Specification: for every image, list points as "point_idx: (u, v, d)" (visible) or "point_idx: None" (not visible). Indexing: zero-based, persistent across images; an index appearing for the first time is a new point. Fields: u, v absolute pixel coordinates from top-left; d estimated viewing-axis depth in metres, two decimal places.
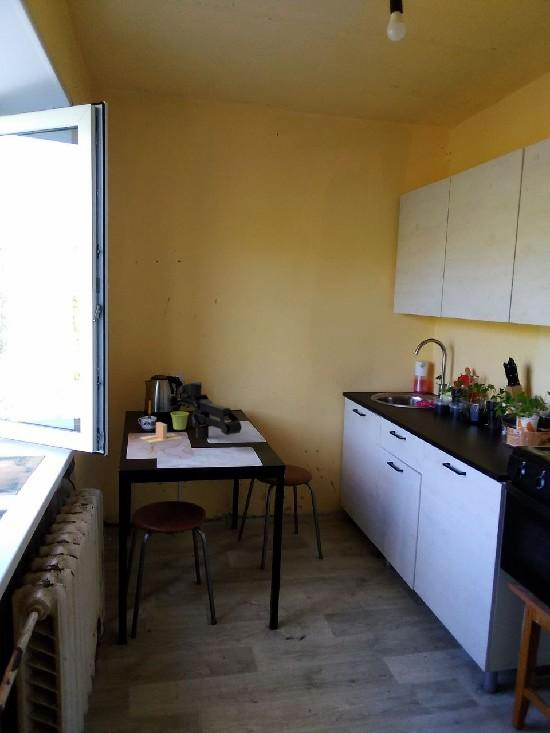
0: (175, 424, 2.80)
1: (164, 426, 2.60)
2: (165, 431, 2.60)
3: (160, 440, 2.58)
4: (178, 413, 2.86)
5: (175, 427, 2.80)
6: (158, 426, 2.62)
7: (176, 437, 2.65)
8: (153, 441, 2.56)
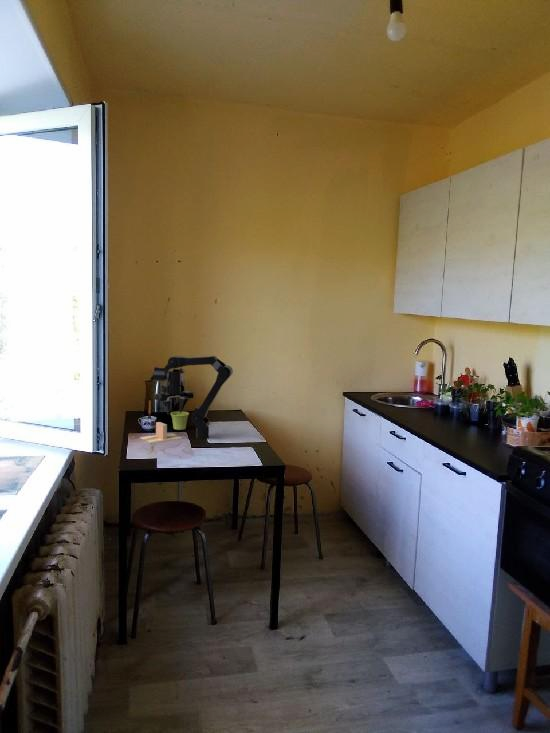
0: (175, 424, 2.80)
1: (164, 426, 2.60)
2: (165, 431, 2.60)
3: (160, 440, 2.58)
4: (178, 413, 2.86)
5: (175, 427, 2.80)
6: (158, 426, 2.62)
7: (176, 437, 2.65)
8: (153, 441, 2.56)
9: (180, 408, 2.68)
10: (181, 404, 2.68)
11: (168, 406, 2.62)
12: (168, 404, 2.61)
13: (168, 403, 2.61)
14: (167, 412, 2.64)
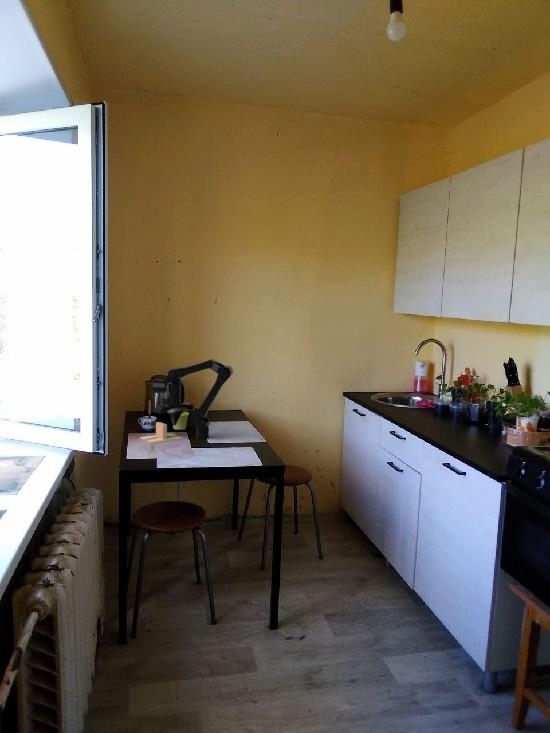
0: None
1: (164, 426, 2.60)
2: (165, 431, 2.60)
3: (160, 440, 2.58)
4: None
5: (175, 427, 2.80)
6: (158, 426, 2.62)
7: (176, 437, 2.65)
8: (153, 441, 2.56)
9: None
10: None
11: (174, 417, 2.64)
12: (174, 415, 2.64)
13: (174, 414, 2.63)
14: (173, 423, 2.67)
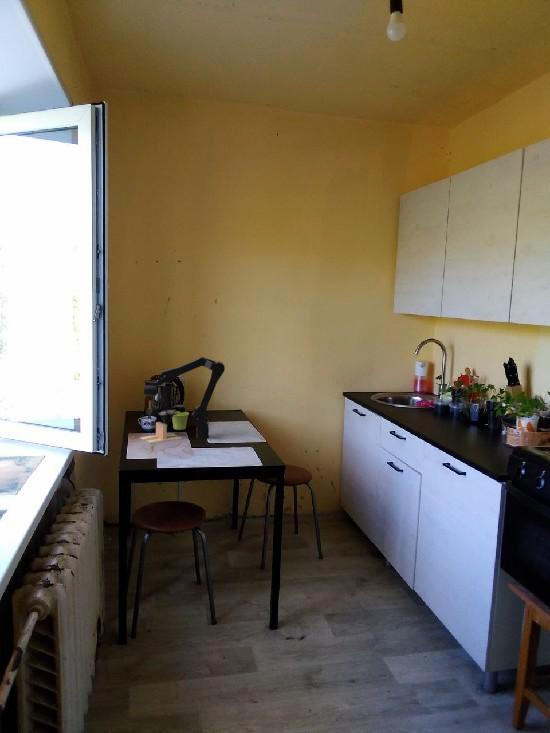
0: (175, 424, 2.80)
1: (164, 426, 2.60)
2: (165, 431, 2.60)
3: (160, 440, 2.58)
4: (178, 413, 2.86)
5: (175, 427, 2.80)
6: (158, 426, 2.62)
7: (176, 437, 2.65)
8: (153, 441, 2.56)
9: None
10: (167, 419, 2.64)
11: (165, 420, 2.62)
12: (165, 418, 2.61)
13: (165, 417, 2.61)
14: None
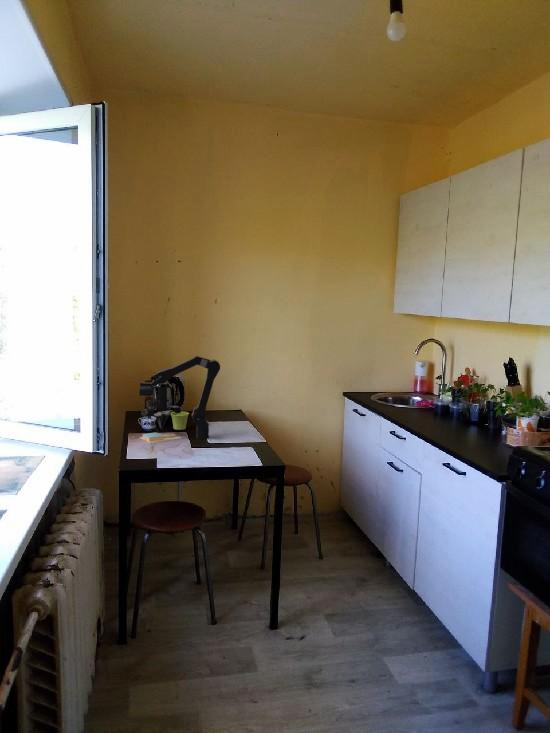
0: (175, 424, 2.80)
1: (150, 439, 2.56)
2: (155, 437, 2.57)
3: (160, 440, 2.58)
4: (178, 413, 2.86)
5: (175, 427, 2.80)
6: None
7: (176, 437, 2.65)
8: (153, 441, 2.56)
9: None
10: None
11: (161, 421, 2.60)
12: (161, 419, 2.59)
13: (161, 418, 2.59)
14: (160, 427, 2.62)
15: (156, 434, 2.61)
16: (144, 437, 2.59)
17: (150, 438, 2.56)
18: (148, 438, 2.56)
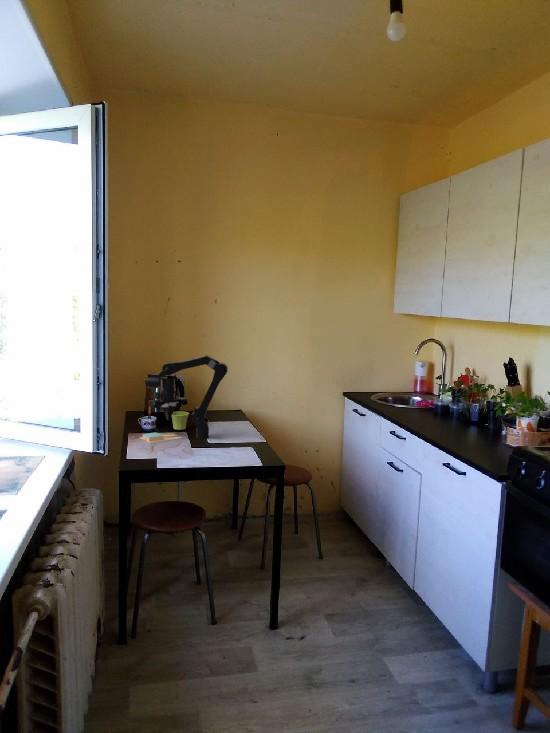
0: (175, 424, 2.80)
1: (150, 439, 2.56)
2: (155, 437, 2.57)
3: (160, 440, 2.58)
4: (178, 413, 2.86)
5: (175, 427, 2.80)
6: None
7: (176, 437, 2.65)
8: (153, 441, 2.56)
9: None
10: None
11: (168, 412, 2.62)
12: (168, 410, 2.61)
13: (168, 409, 2.61)
14: (167, 418, 2.64)
15: (156, 434, 2.61)
16: (144, 437, 2.59)
17: (150, 438, 2.56)
18: (148, 438, 2.56)
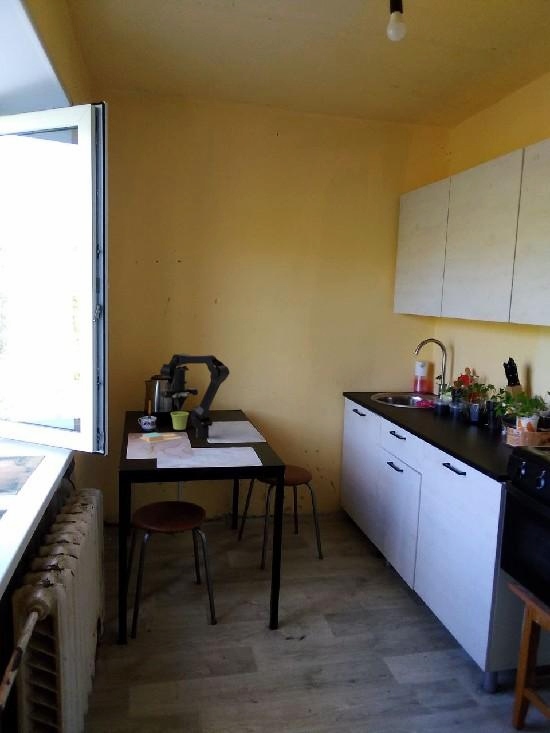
0: (175, 424, 2.80)
1: (150, 439, 2.56)
2: (155, 437, 2.57)
3: (160, 440, 2.58)
4: (178, 413, 2.86)
5: (175, 427, 2.80)
6: None
7: (176, 437, 2.65)
8: (153, 441, 2.56)
9: None
10: None
11: (179, 402, 2.70)
12: (179, 400, 2.69)
13: (179, 399, 2.69)
14: (178, 408, 2.72)
15: (156, 434, 2.61)
16: (144, 437, 2.59)
17: (150, 438, 2.56)
18: (148, 438, 2.56)
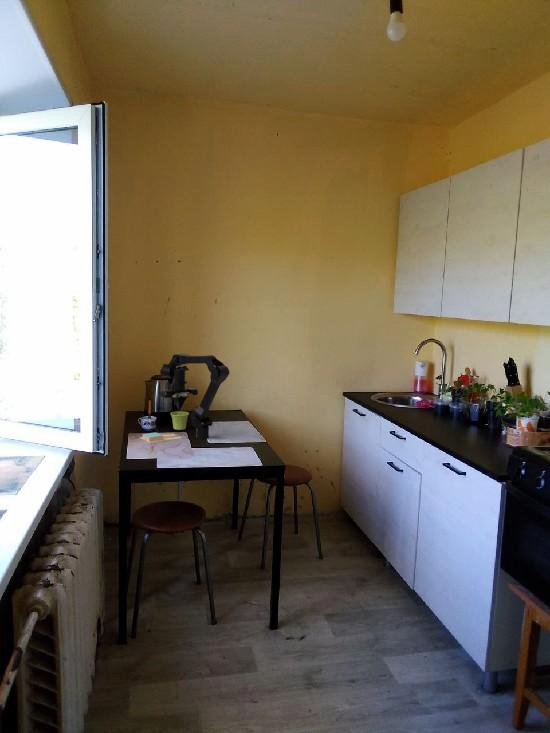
0: (175, 424, 2.80)
1: (150, 439, 2.56)
2: (155, 437, 2.57)
3: (160, 440, 2.58)
4: (178, 413, 2.86)
5: (175, 427, 2.80)
6: None
7: (176, 437, 2.65)
8: (153, 441, 2.56)
9: None
10: None
11: (179, 402, 2.70)
12: (179, 400, 2.69)
13: (179, 399, 2.69)
14: (178, 408, 2.72)
15: (156, 434, 2.61)
16: (144, 437, 2.59)
17: (150, 438, 2.56)
18: (148, 438, 2.56)
